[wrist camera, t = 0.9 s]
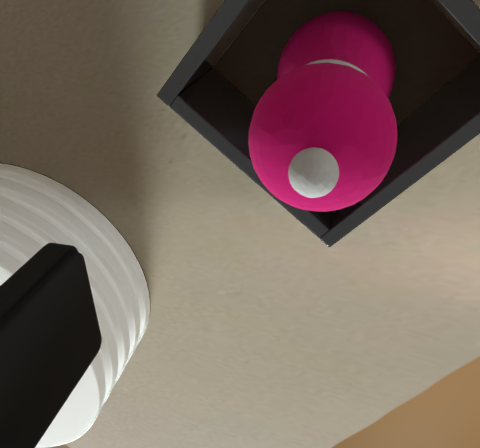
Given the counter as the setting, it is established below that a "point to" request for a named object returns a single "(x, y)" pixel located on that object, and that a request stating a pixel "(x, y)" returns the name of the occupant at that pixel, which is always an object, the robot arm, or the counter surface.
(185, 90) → the open box
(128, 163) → the counter surface
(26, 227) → the plate stack
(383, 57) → the pepper mill
